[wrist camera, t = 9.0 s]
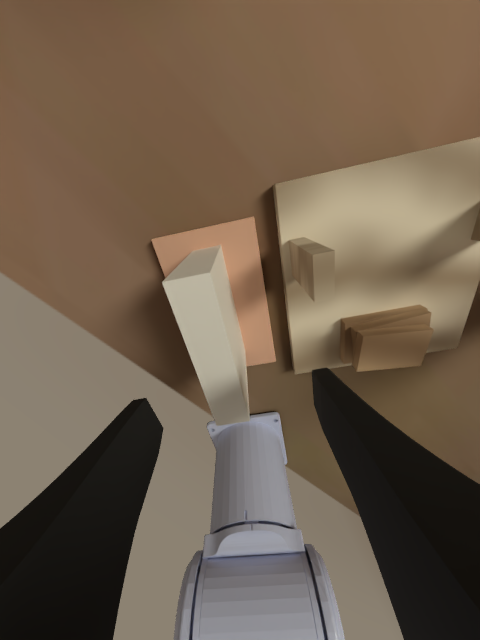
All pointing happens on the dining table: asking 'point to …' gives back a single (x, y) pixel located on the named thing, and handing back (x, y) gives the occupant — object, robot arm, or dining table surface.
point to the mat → (231, 277)
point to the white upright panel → (211, 331)
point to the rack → (380, 246)
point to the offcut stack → (386, 338)
